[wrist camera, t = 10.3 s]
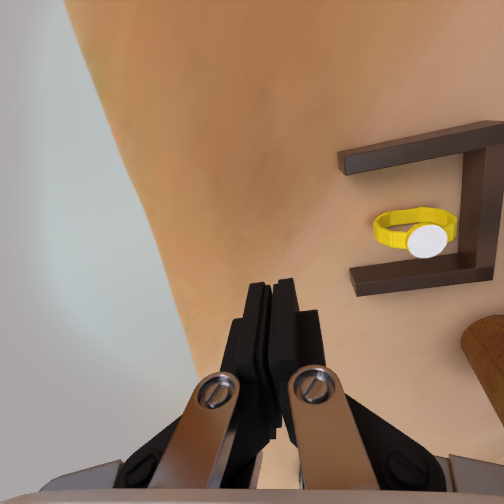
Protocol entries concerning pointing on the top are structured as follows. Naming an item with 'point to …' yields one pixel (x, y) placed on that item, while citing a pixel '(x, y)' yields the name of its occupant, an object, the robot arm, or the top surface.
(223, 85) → the top surface
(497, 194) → the bay
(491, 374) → the disposable coffee cup
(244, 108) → the top surface
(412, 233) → the watch
